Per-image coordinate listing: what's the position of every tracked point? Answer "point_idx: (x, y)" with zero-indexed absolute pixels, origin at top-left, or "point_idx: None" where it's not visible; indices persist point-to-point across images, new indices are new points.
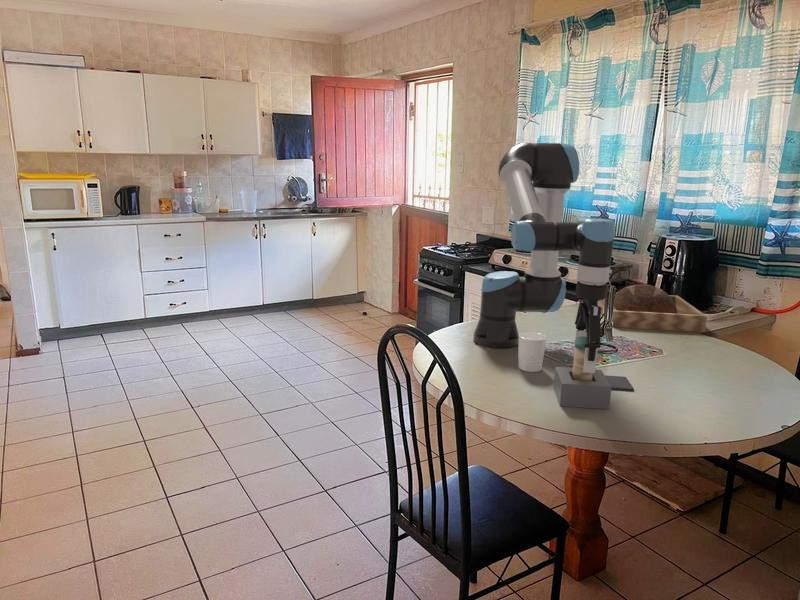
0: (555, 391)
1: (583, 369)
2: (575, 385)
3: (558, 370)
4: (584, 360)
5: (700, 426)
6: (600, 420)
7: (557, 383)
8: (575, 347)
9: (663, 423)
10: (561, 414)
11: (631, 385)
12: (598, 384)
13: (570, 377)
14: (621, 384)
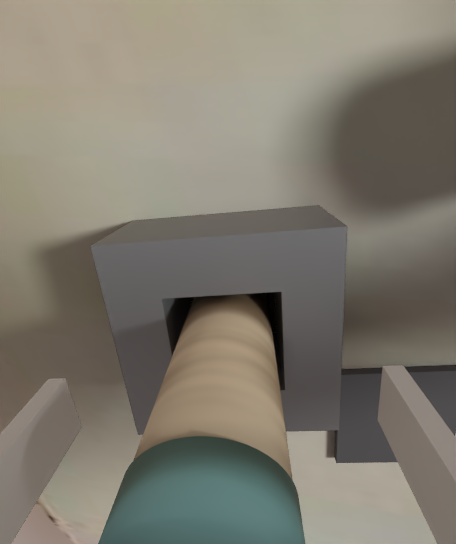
0: (256, 211)
1: (46, 388)
2: (107, 305)
3: (285, 240)
4: (3, 438)
5: None
6: (69, 337)
7: (223, 224)
8: (191, 433)
9: (121, 473)
10: (59, 222)
11: (366, 461)
12: (146, 396)
13: (193, 293)
14: (371, 438)
